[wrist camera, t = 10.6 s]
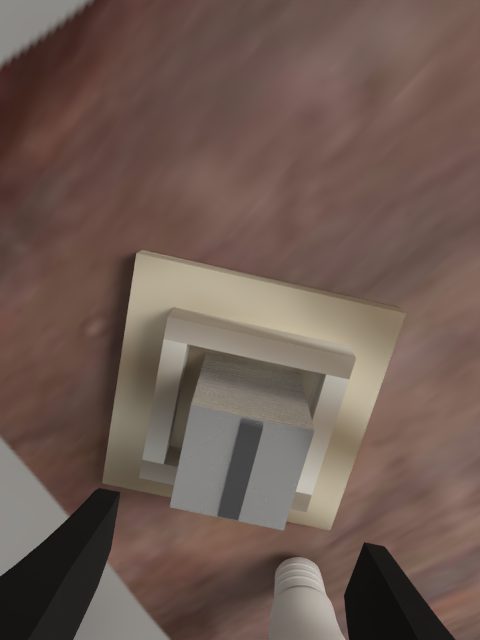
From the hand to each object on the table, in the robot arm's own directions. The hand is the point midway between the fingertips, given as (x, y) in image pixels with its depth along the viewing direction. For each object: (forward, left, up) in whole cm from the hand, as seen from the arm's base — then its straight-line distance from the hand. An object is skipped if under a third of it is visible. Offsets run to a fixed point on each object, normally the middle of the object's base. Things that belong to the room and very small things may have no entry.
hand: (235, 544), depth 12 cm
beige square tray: (0, 0, -9) cm, 9 cm away
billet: (0, 0, -8) cm, 8 cm away
